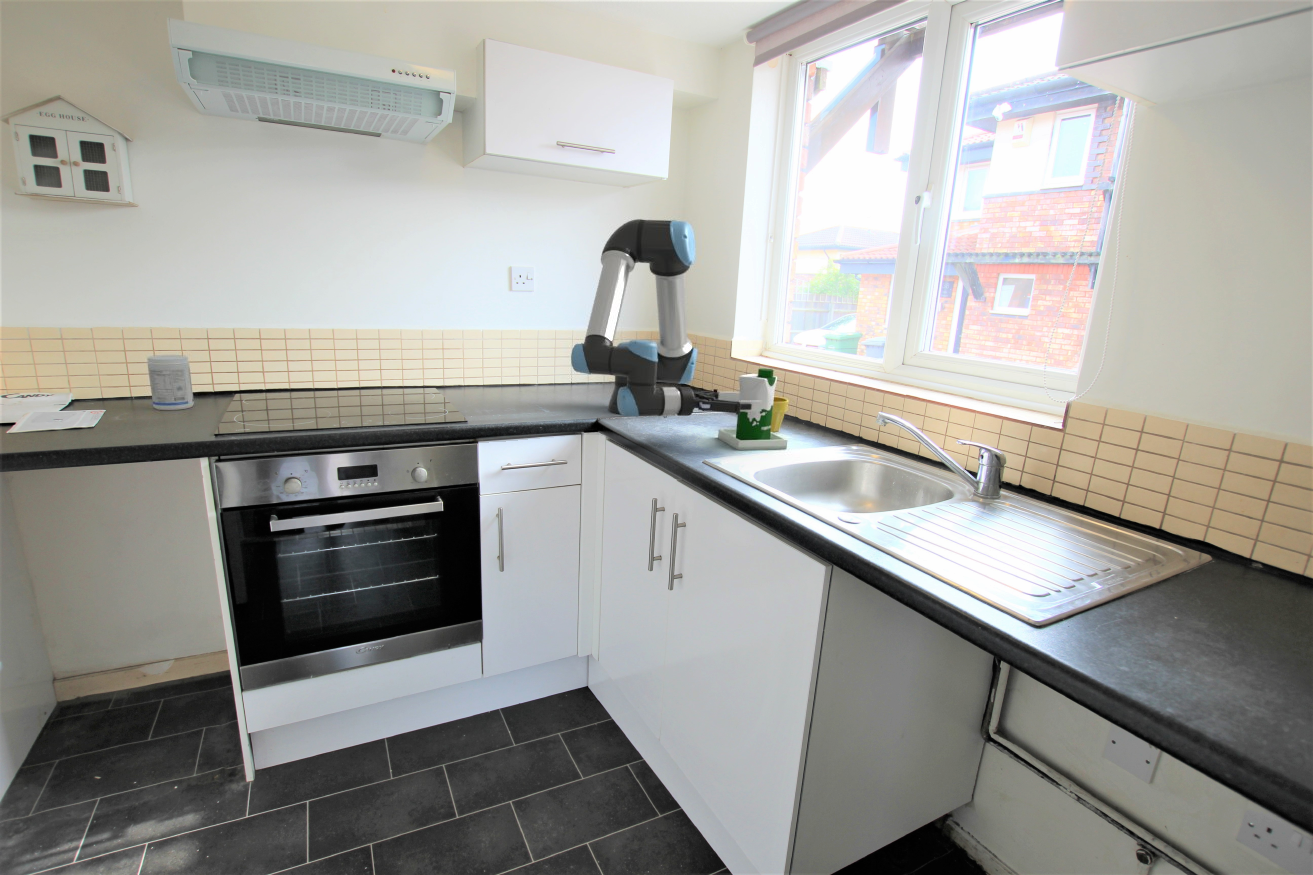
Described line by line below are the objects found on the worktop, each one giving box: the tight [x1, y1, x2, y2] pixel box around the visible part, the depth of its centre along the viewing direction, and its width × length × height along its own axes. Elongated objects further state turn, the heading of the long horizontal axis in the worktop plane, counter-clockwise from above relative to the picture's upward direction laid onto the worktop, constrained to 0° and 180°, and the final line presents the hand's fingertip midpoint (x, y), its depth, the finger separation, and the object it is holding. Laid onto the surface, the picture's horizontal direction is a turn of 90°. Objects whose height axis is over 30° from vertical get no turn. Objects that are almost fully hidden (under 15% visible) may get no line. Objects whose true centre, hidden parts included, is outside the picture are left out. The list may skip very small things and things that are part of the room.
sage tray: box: [717, 428, 788, 451], centre depth 181 cm, size 14×14×2 cm
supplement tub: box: [146, 354, 195, 411], centre depth 186 cm, size 10×10×15 cm
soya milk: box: [735, 368, 778, 441], centre depth 178 cm, size 9×9×20 cm
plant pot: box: [771, 395, 789, 433], centre depth 198 cm, size 10×10×10 cm
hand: (750, 401), depth 178 cm, fingers open, 13 cm apart
